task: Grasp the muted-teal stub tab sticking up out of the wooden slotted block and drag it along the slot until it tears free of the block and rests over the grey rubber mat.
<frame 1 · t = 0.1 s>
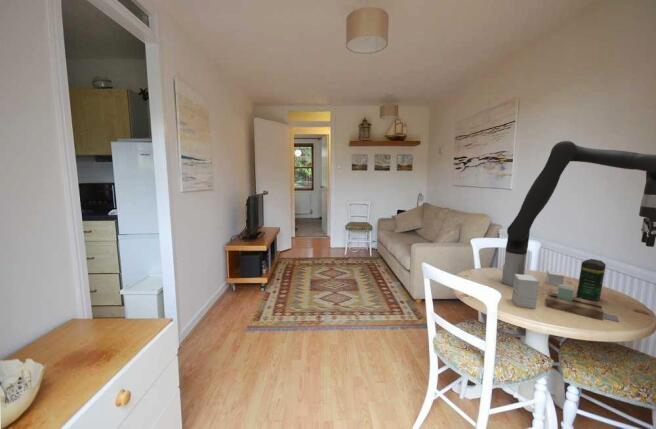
hand: (647, 244, 117), 29 cm above the table, fingers open, 8 cm apart
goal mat: (610, 317, 115), on the table
supplement box: (523, 304, 126), on the table
wooden slotted block: (572, 308, 122), on the table
coffee jar: (588, 298, 133), on the table
stub: (565, 295, 123), point 5 cm above the table, slide at 0.0 cm
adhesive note: (553, 284, 150), on the table
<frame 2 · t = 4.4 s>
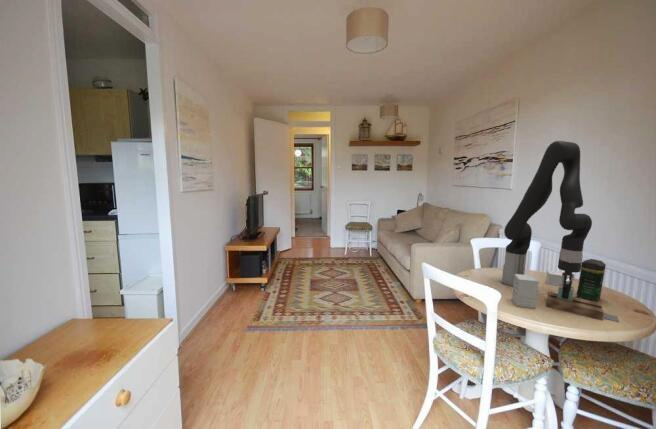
hand: (564, 297, 124), 4 cm above the table, fingers closed on stub
stub: (565, 295, 123), point 5 cm above the table, slide at 0.0 cm, touching gripper
everything else where it was.
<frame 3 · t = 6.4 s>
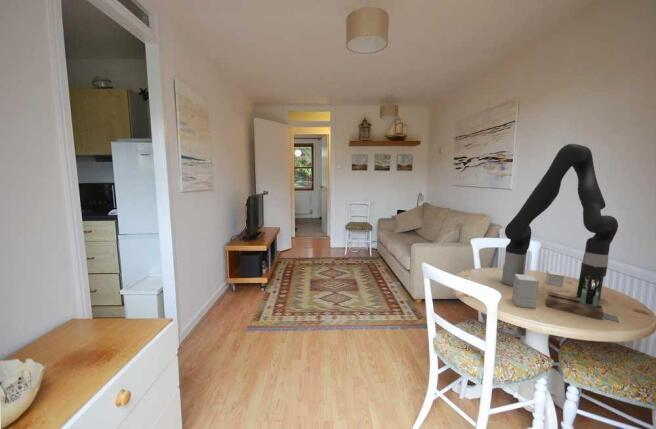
hand: (588, 302, 119), 4 cm above the table, fingers closed on stub
stub: (588, 300, 119), point 5 cm above the table, slide at 7.7 cm, touching gripper
everything else where it was.
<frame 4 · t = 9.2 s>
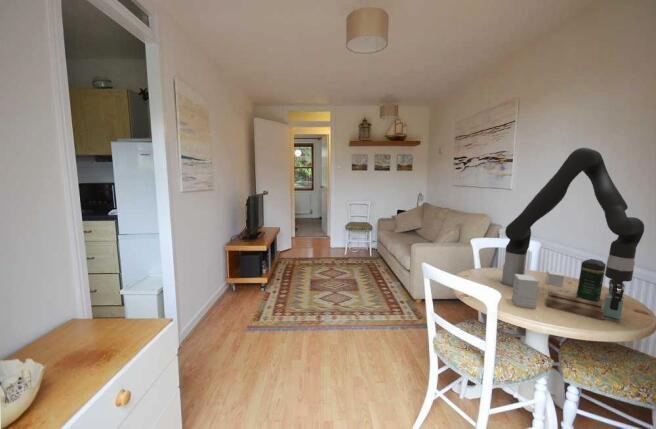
hand: (612, 307, 114), 4 cm above the table, fingers open, 3 cm apart
stub: (612, 306, 114), point 5 cm above the table, slide at 14.9 cm
everything else where it was.
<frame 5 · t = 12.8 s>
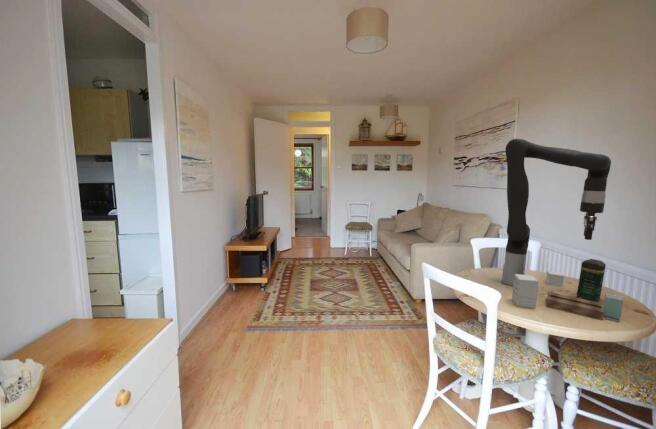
hand: (587, 237, 124), 30 cm above the table, fingers open, 8 cm apart
nothing on the table moved.
at the end: stub slide at 14.9 cm; the gripper is holding nothing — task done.
